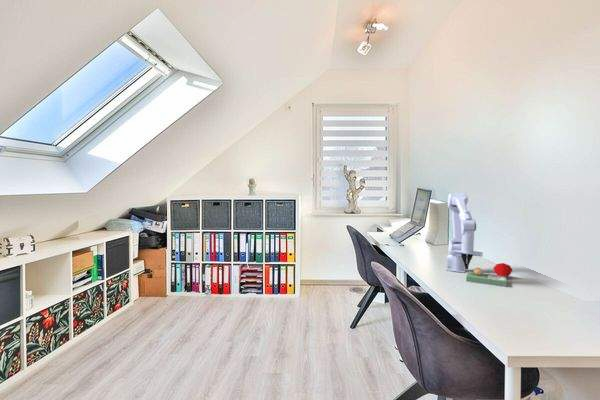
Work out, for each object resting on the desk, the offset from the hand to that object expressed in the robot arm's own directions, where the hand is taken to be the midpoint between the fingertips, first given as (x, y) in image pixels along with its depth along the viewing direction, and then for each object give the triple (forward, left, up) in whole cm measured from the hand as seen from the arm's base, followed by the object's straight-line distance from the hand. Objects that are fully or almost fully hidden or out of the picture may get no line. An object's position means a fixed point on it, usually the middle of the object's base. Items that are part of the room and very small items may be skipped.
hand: (466, 268), depth 191 cm
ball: (+5, 0, -1) cm, 6 cm away
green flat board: (+9, 0, -5) cm, 11 cm away
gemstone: (+18, +12, -6) cm, 22 cm away
